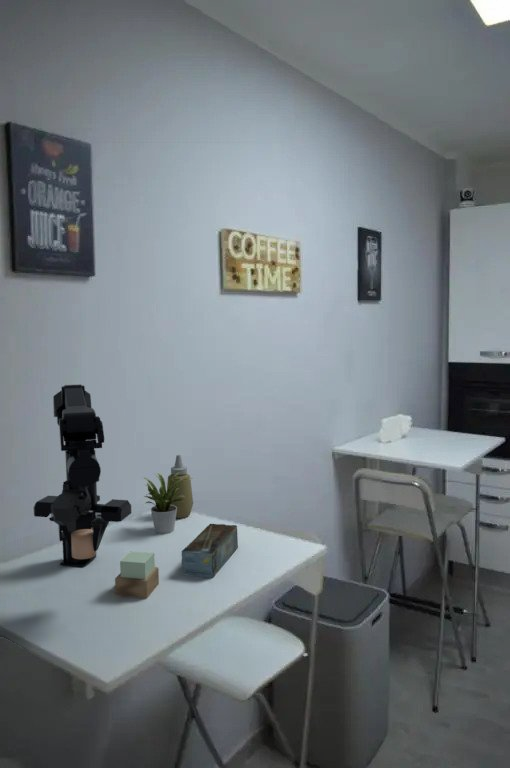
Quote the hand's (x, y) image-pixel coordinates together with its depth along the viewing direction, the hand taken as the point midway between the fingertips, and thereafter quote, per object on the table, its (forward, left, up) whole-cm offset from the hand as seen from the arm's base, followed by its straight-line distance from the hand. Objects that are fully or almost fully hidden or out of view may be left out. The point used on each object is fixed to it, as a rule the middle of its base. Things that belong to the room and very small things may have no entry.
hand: (84, 549), depth 125 cm
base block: (+8, +8, -12) cm, 16 cm away
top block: (+8, +8, -8) cm, 14 cm away
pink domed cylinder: (0, 0, -1) cm, 1 cm away
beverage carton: (+19, +26, -12) cm, 35 cm away
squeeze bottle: (+1, +57, -12) cm, 58 cm away
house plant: (+2, +45, -12) cm, 46 cm away
